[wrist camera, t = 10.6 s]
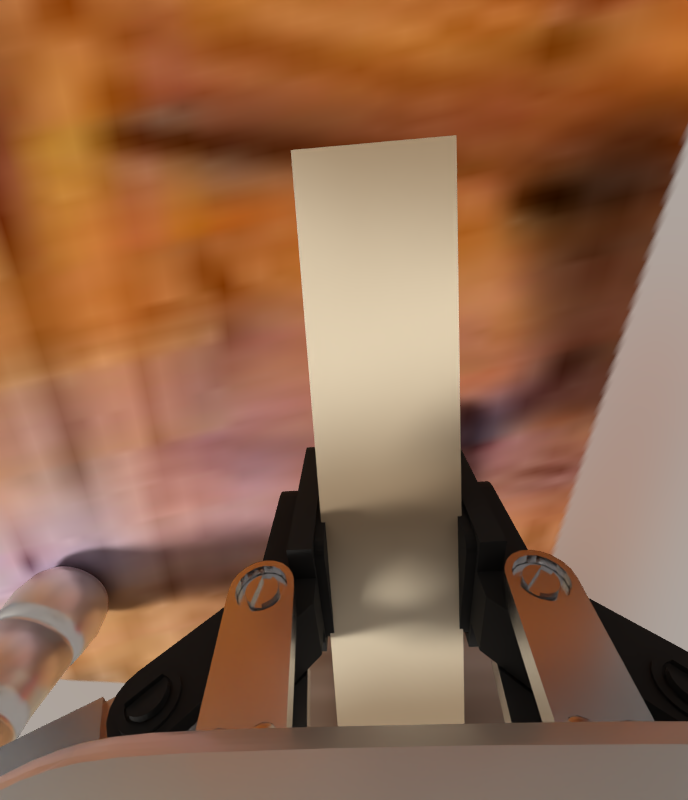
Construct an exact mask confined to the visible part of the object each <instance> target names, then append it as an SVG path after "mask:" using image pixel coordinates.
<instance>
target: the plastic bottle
mask: <svg viewBox="0 0 688 800" xmlns="http://www.w3.org/2000/svg"><path fill="white" fill-rule="evenodd" d="M107 612H108V595H107V592H106V589H105V587H104V586H103V585H102V583H101V582H100V581H99V580H98V579H97V578H95V577H94V576H93V575H91V574H89V573H88V572H86V571H83V570H81V569H78V568H74V567H67V566H59V567H54V568H51V569H48V570H45V571H42V572H40V573H37V574H36V575H35V576H33V577H32V578H31V579H29V580H28V581H27V582H26V583H24V584H23V585H22V586H21V587H19V588H18V589H17V590H16V591H14V593H13V594H12V595H11V597H10V598H9V599H8V601H7V602H6V603H5V604H4V606H3V607H2V608H1V610H0V747H1V746H3V745H6V744H8V743H10V742H12V741H14V740H16V739H17V738H18V737H19V735H20V734H21V732H22V730H23V729H24V727H25V726H26V724H27V722H28V721H29V719H30V718H31V716H32V715H33V714H34V712H35V711H36V710H37V708H38V707H39V706H40V704H41V703H42V702H43V700H44V699H45V698H46V696H47V695H48V694H49V692H50V691H51V690H52V688H53V687H54V686H55V685H56V683H57V682H58V681H59V679H60V678H61V677H62V675H63V674H64V673H65V671H66V670H67V669H68V667H69V666H70V665H72V663H73V662H74V661H75V660H76V659H77V658H78V657H79V656H80V655H81V654H82V653H83V651H84V650H85V649H86V648H87V647H88V645H89V644H90V643H91V642H92V640H93V639H94V638H95V637H96V635H97V634H98V632H99V630H100V627H101V625H102V623H103V621H104V619H105V617H106V614H107Z"/></svg>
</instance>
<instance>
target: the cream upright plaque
mask: <svg viewBox="0 0 688 800" xmlns="http://www.w3.org/2000/svg"><path fill="white" fill-rule="evenodd" d="M291 157H292V170H293V182H294V194H295V206H296V219H297V231H298V243H299V256H300V268H301V280H302V292H303V305H304V317H305V329H306V342H307V354H308V366H309V378H310V391H311V403H312V415H313V428H314V440H315V452H316V464H317V477H318V489H319V501H320V513H321V522H325V525H326V537H327V550H328V562H329V574H330V586H331V598H332V611H333V623H334V633H330V636H328V645H327V651H322V655H321V656H320V657H319V658H318V659H317V660H316V661H315V662H314V663H313V664H312V666H311V667H310V670H311V684H310V727H334V726H378V725H426V724H479V723H505V721H504V717H503V712H502V708H501V704H500V700H499V695H498V691H497V687H496V683H495V678H494V674H493V670H492V665H491V659H490V658H489V657H488V656H486V655H485V654H484V653H482V652H481V651H480V650H479V647H469V646H468V642H467V639H466V635H465V632H463V629H460V624H459V568H458V516H462V511H461V439H460V367H459V295H458V223H457V151H456V135H455V136H444V137H433V138H421V139H410V140H399V141H388V142H377V143H366V144H355V145H344V146H333V147H322V148H311V149H300V150H291Z"/></svg>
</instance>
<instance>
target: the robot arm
mask: <svg viewBox="0 0 688 800" xmlns="http://www.w3.org/2000/svg"><path fill="white" fill-rule="evenodd" d="M461 511H462V516H458V568H459V624H460V629H463V632H465V635H466V639H467V642H468V646H469V647H479V650H480V651H481V652H482V653H484V654H485V655H486V656H488V657H489V658H490V659H491V665H492V670H493V674H494V678H495V683H496V687H497V691H498V695H499V700H500V704H501V708H502V712H503V717H504V721H505V723H479V724H426V725H378V726H334V727H310V684H311V670H310V667H311V666H312V664H313V663H314V662H315V661H316V660H317V659H318V658H319V657H320V656H321V655H322V651H327V645H328V636H330V633H334V623H333V611H332V598H331V586H330V574H329V562H328V550H327V537H326V525H325V522H321V513H320V501H319V489H318V477H317V464H316V452H315V447H310V448H307V449H306V454H305V459H304V464H303V469H302V474H301V479H300V484H299V489H298V491H285V492H282V493H281V495H280V498H279V502H278V506H277V510H276V514H275V517H274V521H273V525H272V529H271V532H270V536H269V540H268V544H267V548H266V551H265V555H264V559H263V561H261V562H257V563H254V564H252V565H250V566H248V567H246V568H245V569H244V570H243V571H241V572H240V573H239V574H238V575H237V576H236V578H235V579H234V580H233V581H232V583H231V586H230V588H229V591H228V595H227V599H226V603H225V607H224V608H223V609H221V610H220V611H219V612H217V613H216V614H215V615H213V616H212V617H211V618H209V619H208V620H207V621H205V622H204V623H202V624H201V625H200V626H198V627H197V628H196V629H194V630H193V631H192V632H190V633H189V634H188V635H186V636H185V637H184V638H182V639H181V640H180V641H178V642H177V643H176V644H174V645H173V646H172V647H170V648H169V649H168V650H166V651H165V652H164V653H162V654H161V655H160V656H158V657H157V658H156V659H154V660H153V661H152V662H150V663H149V664H148V665H146V666H145V667H144V668H142V669H141V670H140V671H138V672H137V673H136V674H135V675H134V676H133V677H132V678H130V679H129V680H128V681H127V682H126V683H125V685H124V686H123V687H122V688H121V690H120V691H119V692H118V694H117V695H116V697H114V698H112V699H110V700H108V701H105V699H104V698H103V697H102V698H99V699H98V700H95V701H93V702H91V703H89V704H87V705H85V706H83V707H81V708H79V709H77V710H75V711H73V712H71V713H69V714H67V715H65V716H63V717H61V718H59V719H57V720H54V721H52V722H50V723H48V724H46V725H44V726H42V727H40V728H38V729H36V730H34V731H32V732H30V733H28V734H26V735H24V736H22V737H20V738H18V739H16V740H14V741H12V742H10V743H8V744H6V745H3V746H1V747H0V800H688V652H687V651H685V650H683V649H682V648H680V647H678V646H676V645H674V644H672V643H671V642H669V641H667V640H665V639H663V638H661V637H659V636H658V635H656V634H654V633H652V632H650V631H648V630H647V629H645V628H643V627H641V626H639V625H637V624H635V623H633V622H632V621H630V620H628V619H626V618H624V617H623V616H621V615H619V614H617V613H615V612H613V611H611V610H609V609H608V608H606V607H604V606H602V605H600V604H599V603H597V602H595V601H593V600H591V599H589V598H588V596H587V595H586V593H585V591H584V589H583V587H582V585H581V583H580V581H579V580H578V578H577V577H576V575H575V574H574V572H573V571H572V570H571V568H569V567H568V566H567V565H566V564H565V563H564V562H562V561H561V560H559V559H557V558H556V557H554V556H552V555H550V554H547V553H544V552H541V551H535V550H528V549H527V548H526V546H525V544H524V542H523V540H522V539H521V537H520V535H519V533H518V531H517V530H516V528H515V526H514V524H513V522H512V520H511V519H510V517H509V515H508V513H507V511H506V510H505V508H504V506H503V504H502V502H501V501H500V499H499V497H498V495H497V493H496V491H495V490H494V488H493V486H492V485H491V483H490V482H488V481H485V482H477V480H476V478H475V476H474V474H473V472H472V470H471V468H470V466H469V464H468V462H467V460H466V458H465V456H464V454H463V452H462V450H461Z"/></svg>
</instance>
